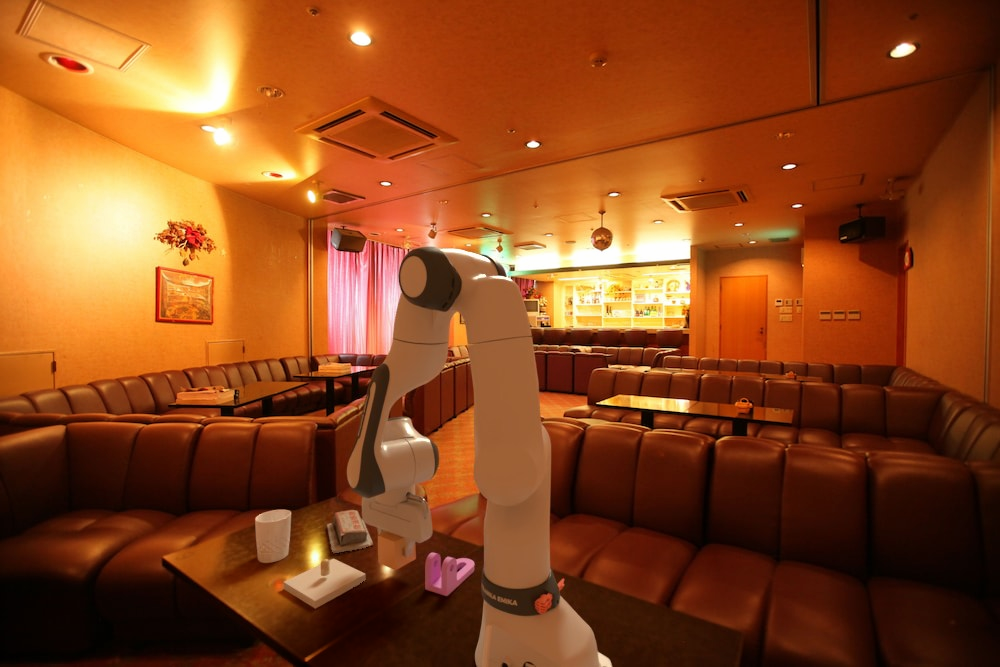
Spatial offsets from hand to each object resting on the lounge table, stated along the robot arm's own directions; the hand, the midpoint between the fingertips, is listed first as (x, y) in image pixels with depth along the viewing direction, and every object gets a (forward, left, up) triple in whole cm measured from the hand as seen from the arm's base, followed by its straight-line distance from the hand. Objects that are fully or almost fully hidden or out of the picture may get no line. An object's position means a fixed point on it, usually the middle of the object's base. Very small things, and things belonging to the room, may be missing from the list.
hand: (396, 551), depth 96 cm
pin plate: (+11, +11, -6) cm, 16 cm away
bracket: (-10, -7, -6) cm, 14 cm away
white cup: (+33, +11, -6) cm, 35 cm away
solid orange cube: (0, 0, -2) cm, 2 cm away
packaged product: (+27, -6, -7) cm, 28 cm away
